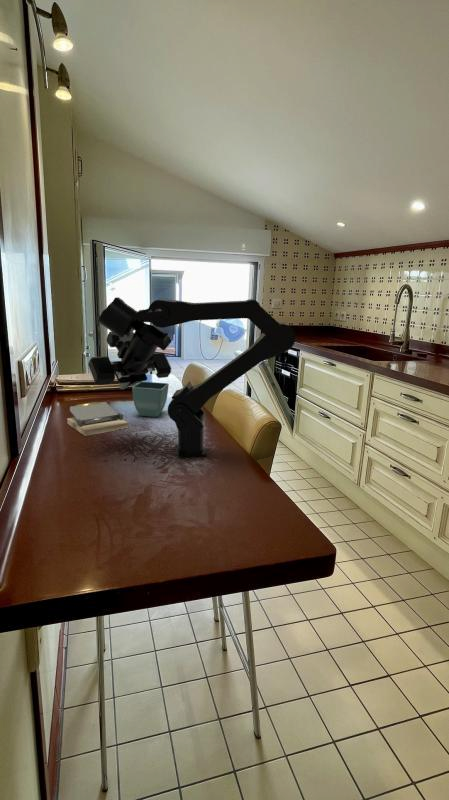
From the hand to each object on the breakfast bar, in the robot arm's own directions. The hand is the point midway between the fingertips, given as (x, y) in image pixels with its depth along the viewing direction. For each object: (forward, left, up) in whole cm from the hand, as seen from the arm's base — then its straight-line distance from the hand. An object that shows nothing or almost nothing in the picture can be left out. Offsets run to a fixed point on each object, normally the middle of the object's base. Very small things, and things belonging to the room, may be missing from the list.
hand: (121, 387), depth 105 cm
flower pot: (+17, -9, -12) cm, 23 cm away
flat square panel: (+6, +5, -10) cm, 13 cm away
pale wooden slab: (+8, +6, -12) cm, 16 cm away
